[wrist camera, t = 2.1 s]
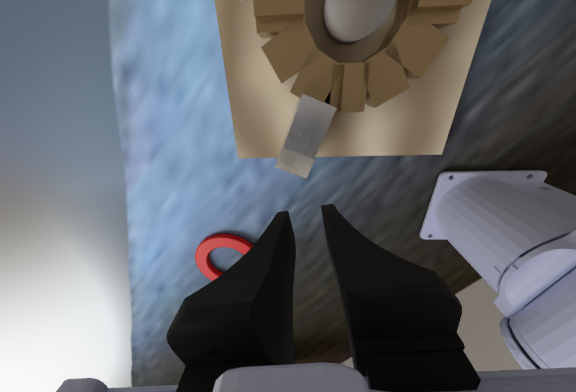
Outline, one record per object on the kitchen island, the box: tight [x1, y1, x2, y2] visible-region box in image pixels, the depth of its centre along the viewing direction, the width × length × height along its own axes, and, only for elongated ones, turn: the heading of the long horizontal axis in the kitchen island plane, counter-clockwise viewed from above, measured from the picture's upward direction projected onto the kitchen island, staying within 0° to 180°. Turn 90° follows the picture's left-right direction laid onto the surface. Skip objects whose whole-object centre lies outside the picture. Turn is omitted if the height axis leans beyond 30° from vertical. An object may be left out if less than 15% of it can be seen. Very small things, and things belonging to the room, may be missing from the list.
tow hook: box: [195, 234, 253, 281], centre depth 22 cm, size 8×13×9 cm
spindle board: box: [215, 0, 491, 158], centre depth 13 cm, size 18×20×5 cm
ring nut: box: [253, 0, 472, 178], centre depth 14 cm, size 12×16×4 cm
